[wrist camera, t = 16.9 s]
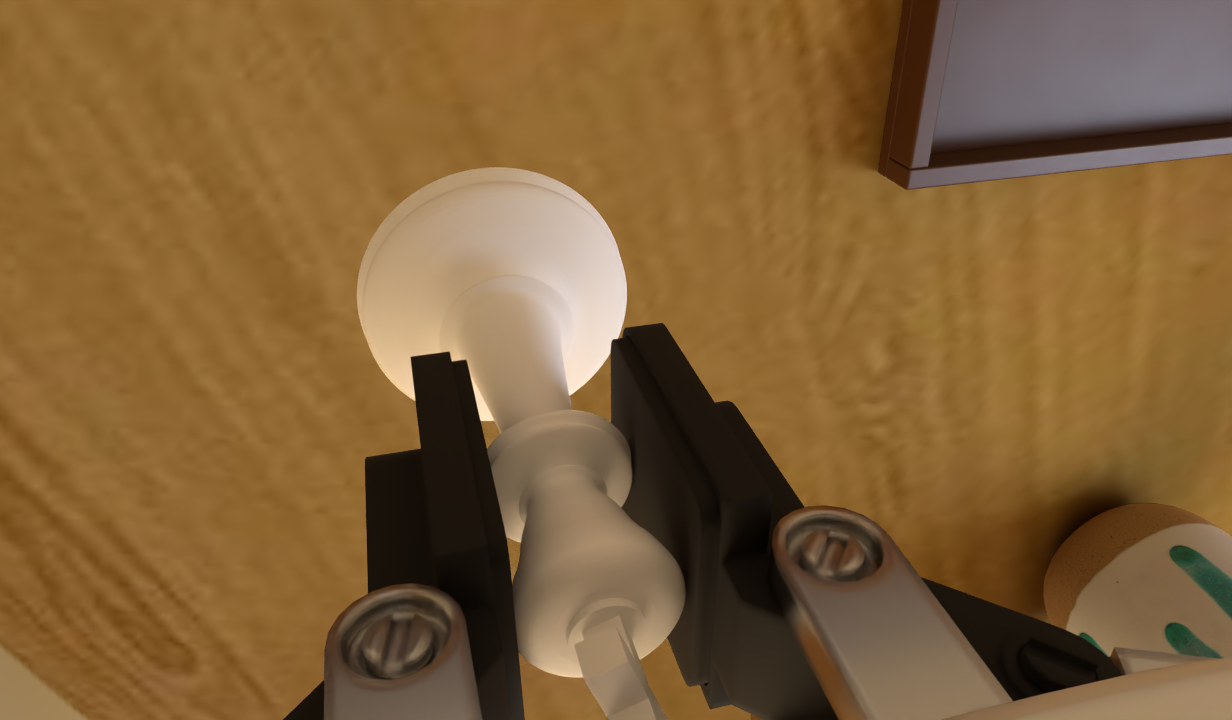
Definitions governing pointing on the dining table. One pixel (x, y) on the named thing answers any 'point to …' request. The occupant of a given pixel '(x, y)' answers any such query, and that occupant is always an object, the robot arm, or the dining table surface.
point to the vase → (1145, 582)
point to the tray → (1055, 87)
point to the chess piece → (534, 407)
